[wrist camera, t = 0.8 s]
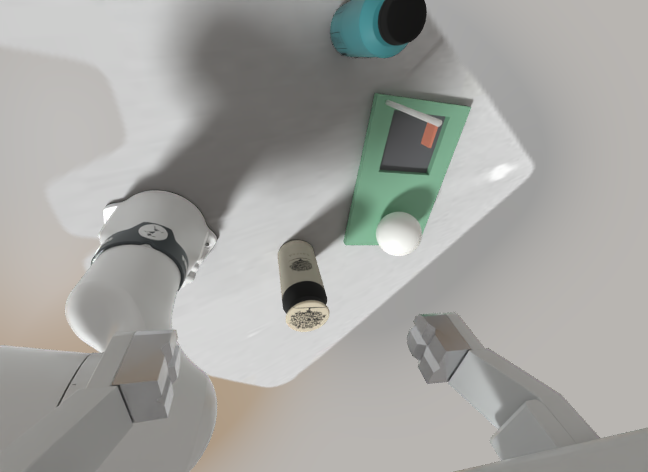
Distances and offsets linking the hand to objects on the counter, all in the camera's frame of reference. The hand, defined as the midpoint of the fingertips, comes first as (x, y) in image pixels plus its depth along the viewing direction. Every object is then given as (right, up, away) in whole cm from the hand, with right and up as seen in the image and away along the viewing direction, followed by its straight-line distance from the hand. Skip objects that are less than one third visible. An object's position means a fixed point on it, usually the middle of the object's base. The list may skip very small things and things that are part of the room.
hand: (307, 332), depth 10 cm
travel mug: (-6, -1, +52) cm, 53 cm away
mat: (+16, +15, +47) cm, 52 cm away
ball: (+16, +4, +47) cm, 50 cm away
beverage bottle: (+4, +34, +32) cm, 46 cm away
